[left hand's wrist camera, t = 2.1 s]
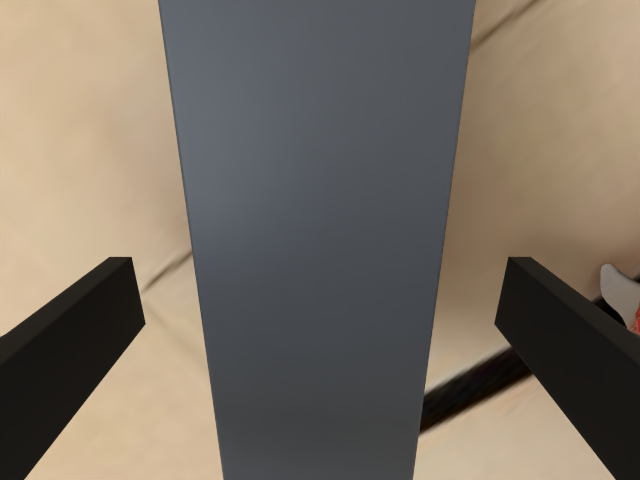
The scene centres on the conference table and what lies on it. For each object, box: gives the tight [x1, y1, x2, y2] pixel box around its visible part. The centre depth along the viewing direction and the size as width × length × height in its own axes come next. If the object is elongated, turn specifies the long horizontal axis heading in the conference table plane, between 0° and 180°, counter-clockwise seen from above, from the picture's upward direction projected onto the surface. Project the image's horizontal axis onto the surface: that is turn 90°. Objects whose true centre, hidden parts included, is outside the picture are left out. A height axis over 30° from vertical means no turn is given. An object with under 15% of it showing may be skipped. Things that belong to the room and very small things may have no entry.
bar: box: [158, 0, 476, 480], centre depth 9 cm, size 23×4×9 cm, turn 0°
